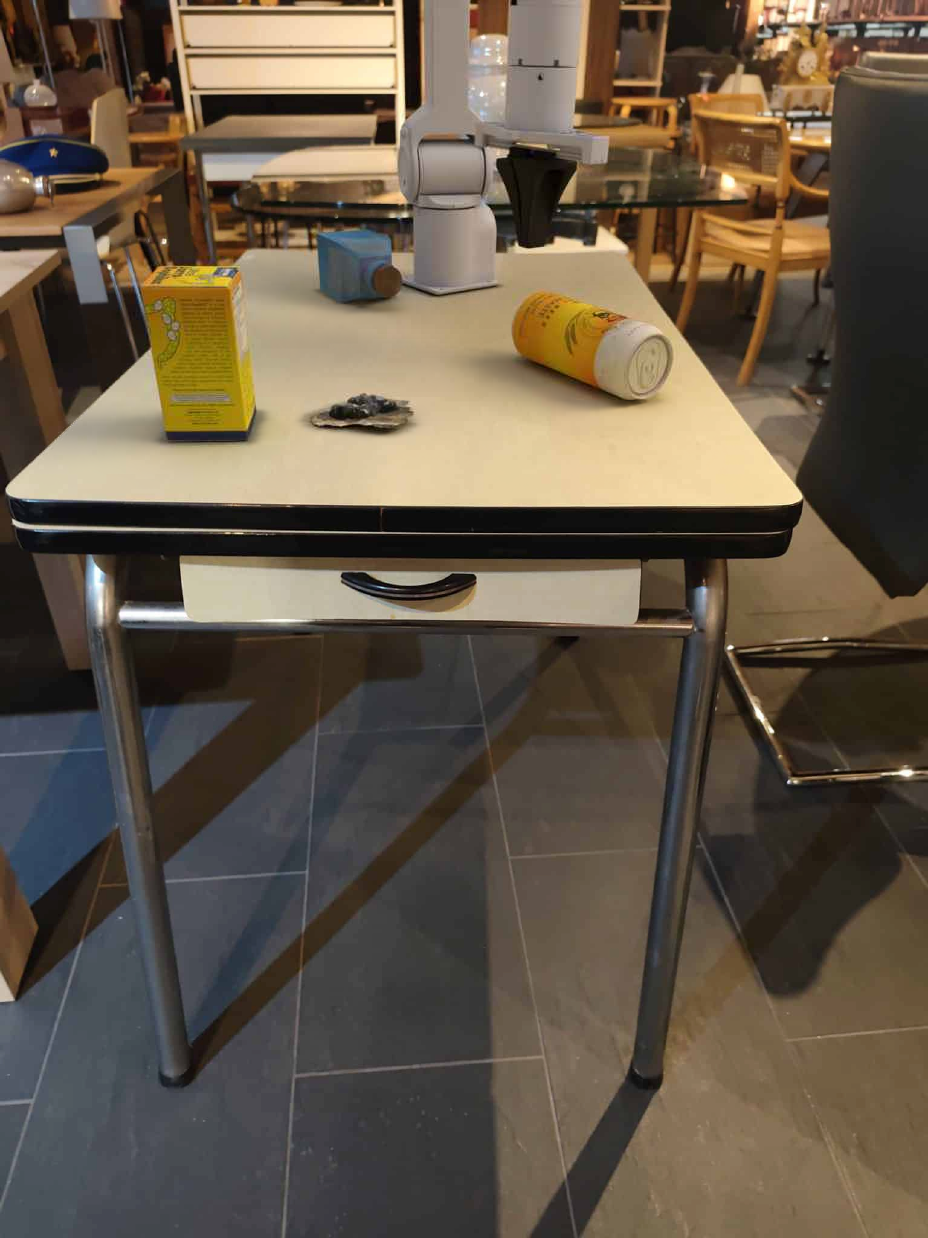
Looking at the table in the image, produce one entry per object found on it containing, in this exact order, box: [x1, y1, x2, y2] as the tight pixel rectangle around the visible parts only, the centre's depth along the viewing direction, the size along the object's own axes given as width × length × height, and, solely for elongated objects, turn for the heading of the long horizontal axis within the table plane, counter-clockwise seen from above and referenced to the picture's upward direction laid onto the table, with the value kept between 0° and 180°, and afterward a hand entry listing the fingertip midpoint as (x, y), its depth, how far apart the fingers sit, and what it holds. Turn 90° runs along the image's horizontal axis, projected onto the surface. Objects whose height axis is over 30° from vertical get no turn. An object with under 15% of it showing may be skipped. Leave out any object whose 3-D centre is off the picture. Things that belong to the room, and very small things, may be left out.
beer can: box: [511, 290, 674, 401], centre depth 76 cm, size 6×6×15 cm
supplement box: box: [139, 265, 257, 443], centre depth 63 cm, size 6×6×11 cm
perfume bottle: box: [316, 228, 403, 304], centre depth 98 cm, size 6×6×12 cm
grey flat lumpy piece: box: [309, 392, 415, 429], centre depth 68 cm, size 7×8×2 cm
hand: (531, 246), depth 79 cm, fingers closed
